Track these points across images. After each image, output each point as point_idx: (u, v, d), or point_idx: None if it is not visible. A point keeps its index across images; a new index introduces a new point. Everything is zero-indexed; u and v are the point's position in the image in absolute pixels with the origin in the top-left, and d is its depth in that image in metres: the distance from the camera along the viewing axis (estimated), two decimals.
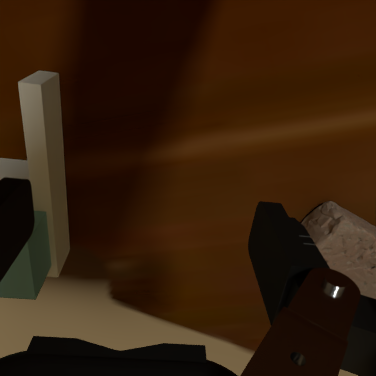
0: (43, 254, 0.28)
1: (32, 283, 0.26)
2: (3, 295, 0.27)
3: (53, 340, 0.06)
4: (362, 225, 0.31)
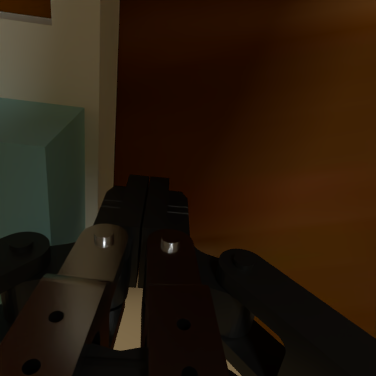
0: (75, 211, 0.12)
1: None
2: None
3: None
4: None
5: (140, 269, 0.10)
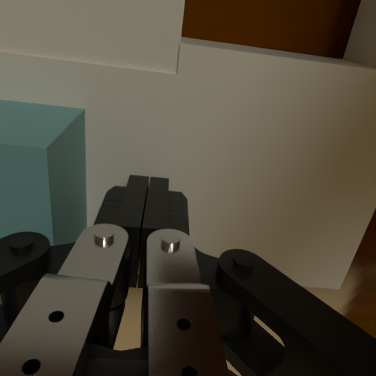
0: (76, 211, 0.12)
1: None
2: None
3: None
4: None
5: (140, 269, 0.10)
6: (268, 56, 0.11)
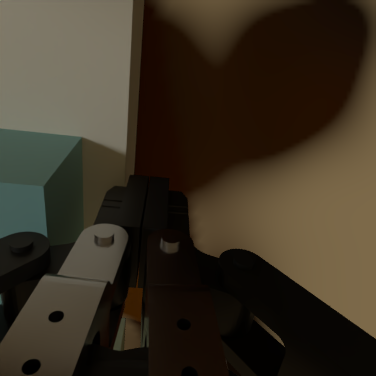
0: None
1: None
2: None
3: None
4: None
5: (140, 269, 0.10)
6: None
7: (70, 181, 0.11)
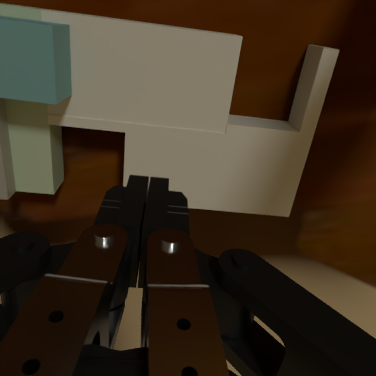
0: (65, 67, 0.29)
1: (54, 81, 0.27)
2: (26, 98, 0.28)
3: None
4: None
5: (140, 269, 0.10)
6: (256, 127, 0.34)
7: None
